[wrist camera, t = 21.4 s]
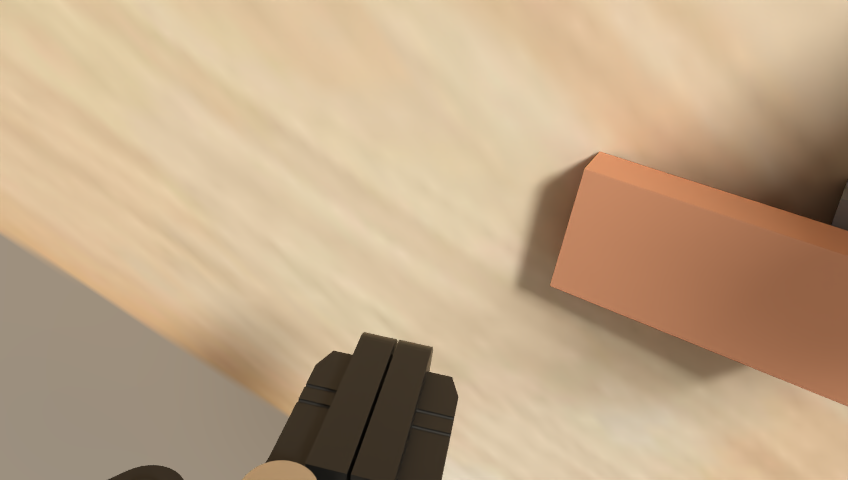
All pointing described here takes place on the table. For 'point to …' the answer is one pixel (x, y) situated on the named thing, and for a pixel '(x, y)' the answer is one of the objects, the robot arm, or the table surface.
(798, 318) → the domino
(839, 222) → the domino
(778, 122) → the table surface
